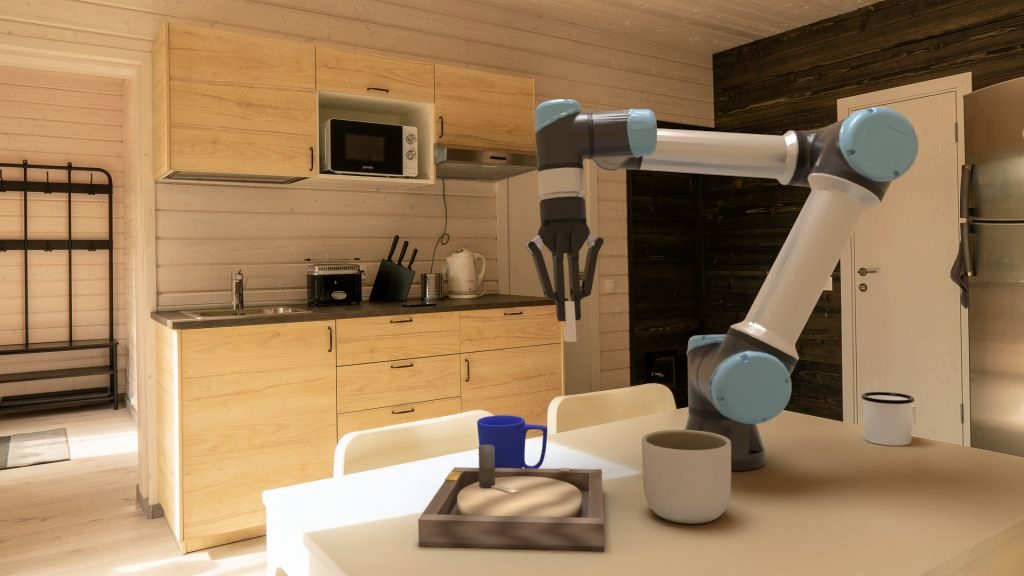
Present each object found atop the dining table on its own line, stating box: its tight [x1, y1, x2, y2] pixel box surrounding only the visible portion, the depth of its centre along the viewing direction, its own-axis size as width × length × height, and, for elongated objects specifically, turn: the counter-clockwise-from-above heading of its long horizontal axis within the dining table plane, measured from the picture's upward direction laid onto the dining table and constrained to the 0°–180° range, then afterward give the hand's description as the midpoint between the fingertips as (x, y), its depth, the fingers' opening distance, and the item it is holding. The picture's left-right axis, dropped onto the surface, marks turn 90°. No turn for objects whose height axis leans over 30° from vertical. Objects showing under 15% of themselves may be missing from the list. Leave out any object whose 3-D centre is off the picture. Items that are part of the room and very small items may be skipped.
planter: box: [641, 429, 732, 525], centre depth 102 cm, size 12×12×11 cm
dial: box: [457, 445, 582, 518], centre depth 103 cm, size 18×18×8 cm
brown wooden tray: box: [417, 466, 605, 552], centre depth 103 cm, size 24×24×4 cm
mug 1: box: [476, 414, 548, 468], centre depth 121 cm, size 8×12×10 cm
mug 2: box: [860, 391, 917, 447], centre depth 141 cm, size 12×10×9 cm
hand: (570, 340), depth 117 cm, fingers closed
